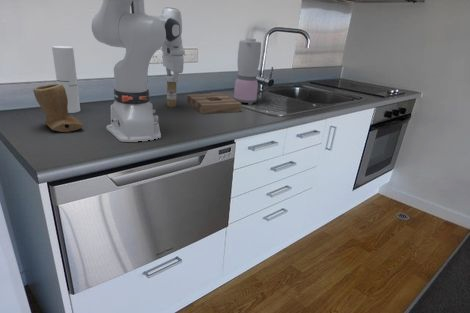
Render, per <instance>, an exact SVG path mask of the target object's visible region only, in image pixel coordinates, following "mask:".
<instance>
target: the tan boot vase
mask: <svg viewBox="0 0 470 313" xmlns="http://www.w3.org/2000/svg"><path fill="white" fill-rule="evenodd" d="M33 94H34V98H35V100H36V102H37V103H38V105H39V106H40V108H41V110H42V111H43V112H44V114H45V116H46V119H45V120H44V122H45V125H47V126H48V127H49V128H50V129H51V130H52V131H56V132H60V133H61V132H63V133H69V132H74V131H77V130H79V129H82V128H83V127H84V125H83V124H82V123H81V121H79V120H78V119H77V118H76V117H74V116H73V115H69V113H68V108H67V105H68V99H67V95H66V91H65V88H64V86H63V85H62V84H57V83H50V84H44V85H39V86H36V87H34V88H33Z"/></svg>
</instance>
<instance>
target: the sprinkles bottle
mask: <svg viewBox="0 0 470 313" xmlns="http://www.w3.org/2000/svg"><path fill="white" fill-rule="evenodd" d="M173 77H174V76H169V77H167V76H166V82H167V83H166V103H167V104H166V105H167V107H171V108H173V107H176V106H177V83H178V82H174V81H173Z"/></svg>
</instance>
